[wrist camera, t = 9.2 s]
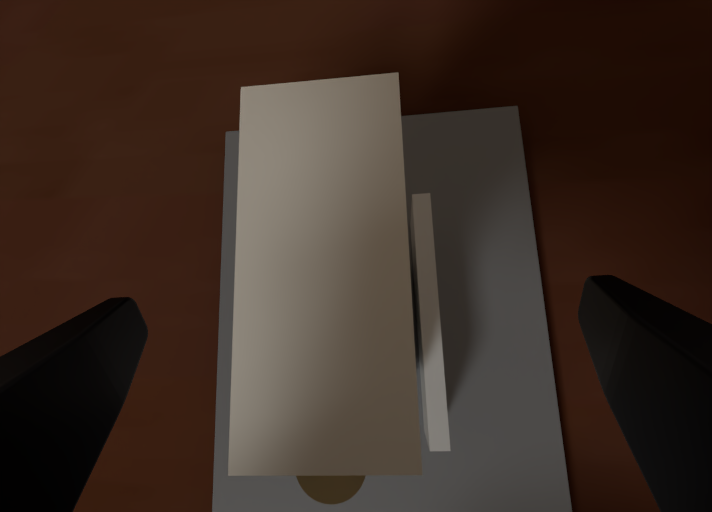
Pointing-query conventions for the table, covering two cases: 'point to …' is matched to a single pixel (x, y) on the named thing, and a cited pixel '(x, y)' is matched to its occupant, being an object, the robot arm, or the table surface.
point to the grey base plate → (445, 334)
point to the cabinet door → (323, 288)
